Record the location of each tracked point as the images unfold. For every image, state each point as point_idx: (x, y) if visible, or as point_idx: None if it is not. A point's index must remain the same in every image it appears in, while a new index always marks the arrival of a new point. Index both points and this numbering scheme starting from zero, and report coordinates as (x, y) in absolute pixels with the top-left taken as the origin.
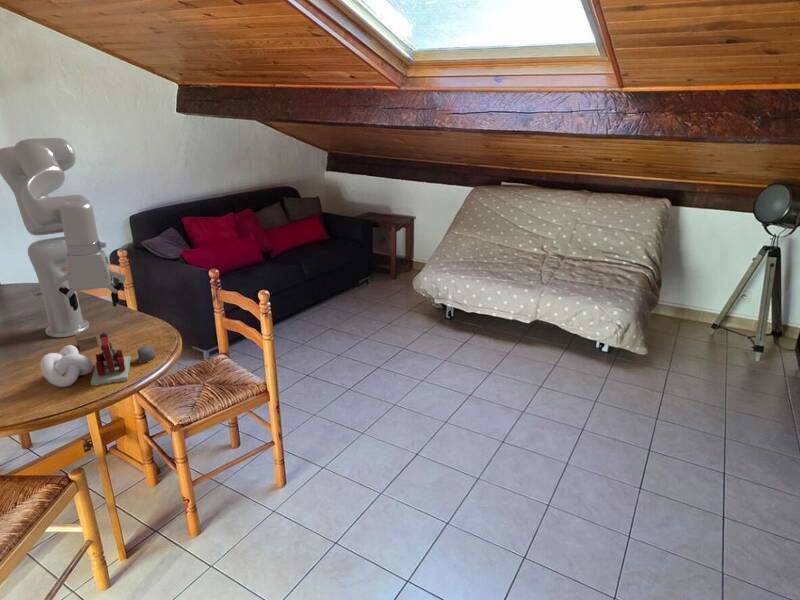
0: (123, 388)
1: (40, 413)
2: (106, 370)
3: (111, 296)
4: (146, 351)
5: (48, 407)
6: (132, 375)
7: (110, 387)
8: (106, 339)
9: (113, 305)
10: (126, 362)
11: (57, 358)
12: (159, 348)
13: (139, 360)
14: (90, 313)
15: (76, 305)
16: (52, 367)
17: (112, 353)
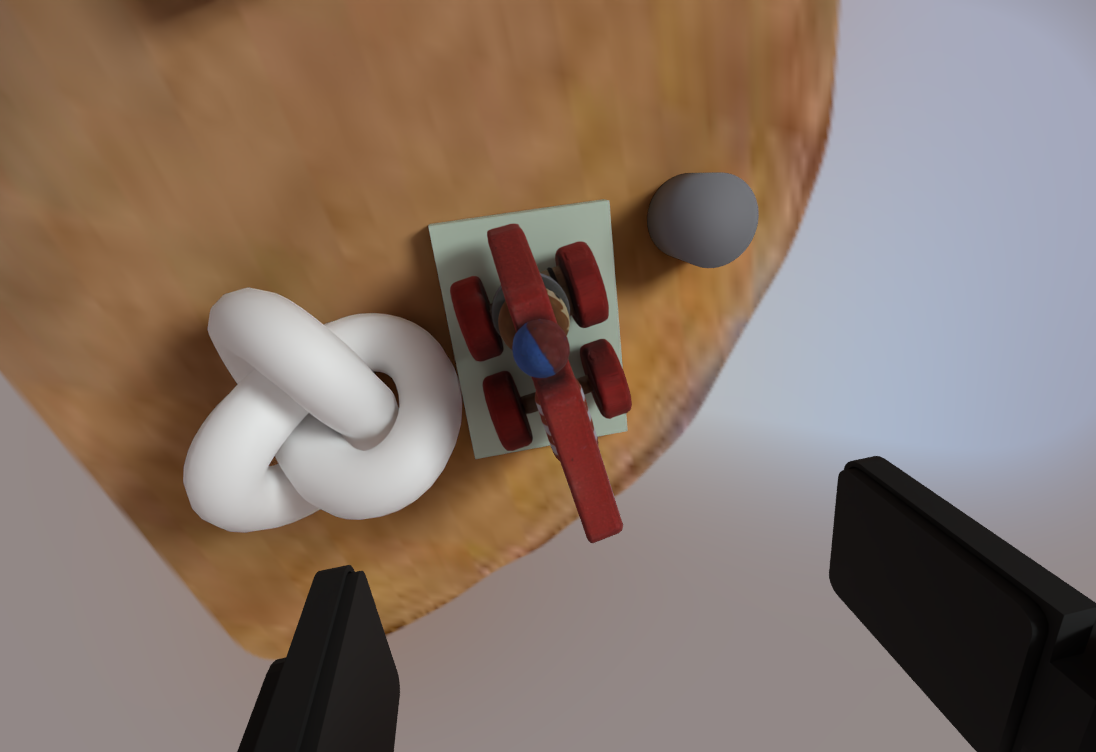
0: (616, 480)
1: None
2: None
3: (955, 723)
4: (721, 249)
5: None
6: (636, 377)
7: (561, 467)
8: (591, 450)
9: (843, 594)
10: None
11: (273, 455)
12: (744, 71)
13: (654, 239)
14: None
15: (381, 698)
16: (284, 508)
17: (586, 402)
